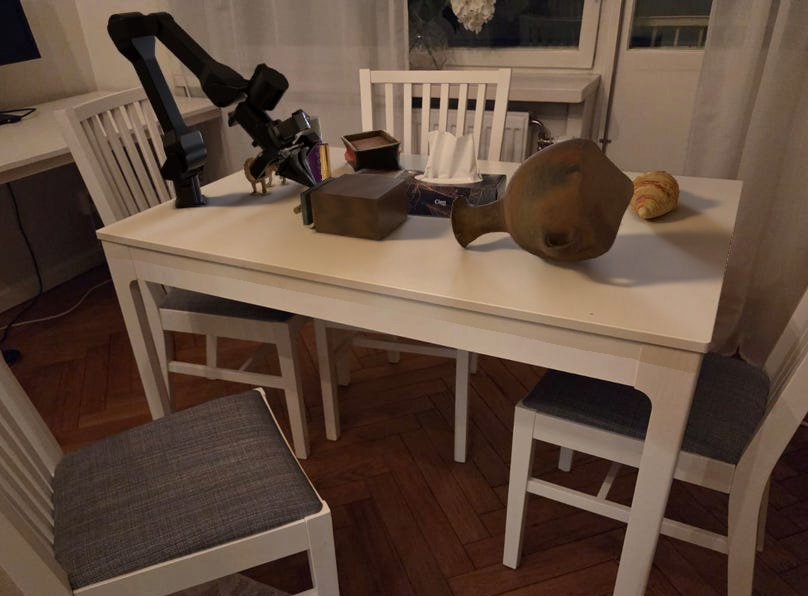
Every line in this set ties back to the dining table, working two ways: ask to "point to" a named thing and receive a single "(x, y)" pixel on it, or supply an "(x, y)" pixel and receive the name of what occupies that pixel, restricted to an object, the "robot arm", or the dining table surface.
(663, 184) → the croissant
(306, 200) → the drawer
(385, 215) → the cabinet
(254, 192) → the lion figurine
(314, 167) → the container
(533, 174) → the jug
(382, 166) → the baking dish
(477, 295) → the dining table surface
